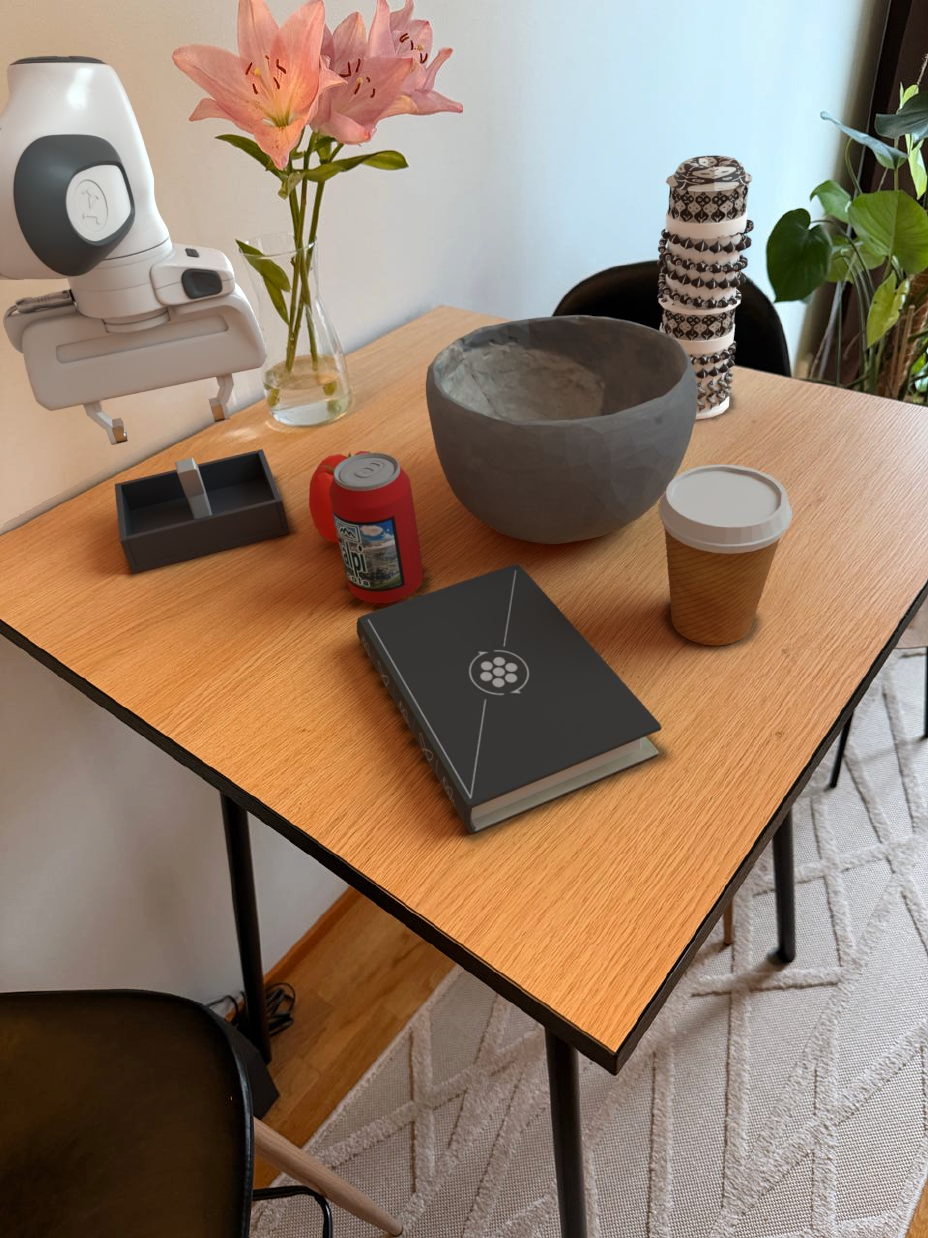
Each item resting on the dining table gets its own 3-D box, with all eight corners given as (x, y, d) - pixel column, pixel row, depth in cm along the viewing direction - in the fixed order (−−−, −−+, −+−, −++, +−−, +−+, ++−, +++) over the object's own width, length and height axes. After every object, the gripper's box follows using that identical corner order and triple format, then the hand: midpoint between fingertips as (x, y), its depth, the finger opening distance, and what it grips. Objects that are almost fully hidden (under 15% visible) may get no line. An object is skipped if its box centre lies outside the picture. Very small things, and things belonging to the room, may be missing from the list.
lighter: (191, 503, 93) (168, 434, 88) (208, 499, 93) (186, 429, 88) (199, 539, 88) (175, 467, 83) (217, 535, 88) (194, 463, 83)
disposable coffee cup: (798, 627, 72) (823, 499, 64) (708, 677, 69) (724, 547, 61) (713, 571, 79) (727, 448, 71) (627, 613, 75) (632, 489, 68)
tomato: (317, 514, 91) (302, 447, 86) (405, 503, 91) (395, 436, 86) (314, 568, 84) (298, 499, 79) (410, 556, 84) (400, 487, 79)
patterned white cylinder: (740, 419, 99) (770, 170, 83) (653, 423, 100) (667, 178, 84) (726, 381, 106) (752, 146, 90) (646, 386, 107) (657, 153, 91)
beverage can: (333, 595, 80) (307, 478, 73) (381, 556, 84) (361, 441, 77) (393, 619, 77) (372, 499, 70) (439, 576, 81) (424, 459, 74)
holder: (132, 574, 86) (119, 541, 83) (126, 515, 94) (114, 483, 92) (290, 533, 89) (282, 500, 86) (270, 479, 97) (262, 448, 95)
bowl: (495, 430, 101) (486, 297, 92) (715, 463, 92) (730, 318, 83) (390, 553, 85) (366, 405, 75) (645, 607, 76) (654, 448, 66)
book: (359, 645, 75) (353, 618, 73) (519, 589, 79) (518, 562, 77) (467, 838, 59) (463, 808, 57) (660, 755, 63) (663, 726, 61)
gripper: (-8, 315, 71) (55, 470, 80) (250, 268, 76) (283, 419, 84) (-4, 291, 76) (55, 439, 85) (239, 247, 80) (272, 393, 89)
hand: (171, 429), depth 84 cm, fingers open, 8 cm apart
